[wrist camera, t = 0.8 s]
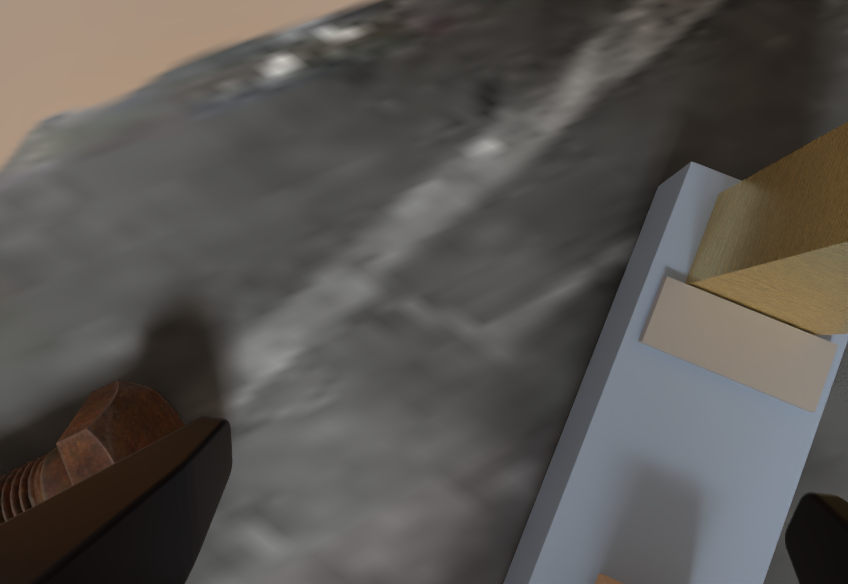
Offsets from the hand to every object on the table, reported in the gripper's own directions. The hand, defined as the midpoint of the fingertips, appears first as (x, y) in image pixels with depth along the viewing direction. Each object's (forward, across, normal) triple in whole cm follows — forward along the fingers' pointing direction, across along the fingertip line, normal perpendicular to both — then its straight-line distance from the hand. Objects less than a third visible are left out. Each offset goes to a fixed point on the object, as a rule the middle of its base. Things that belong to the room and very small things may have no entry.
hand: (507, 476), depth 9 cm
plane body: (+12, -8, +6) cm, 15 cm away
